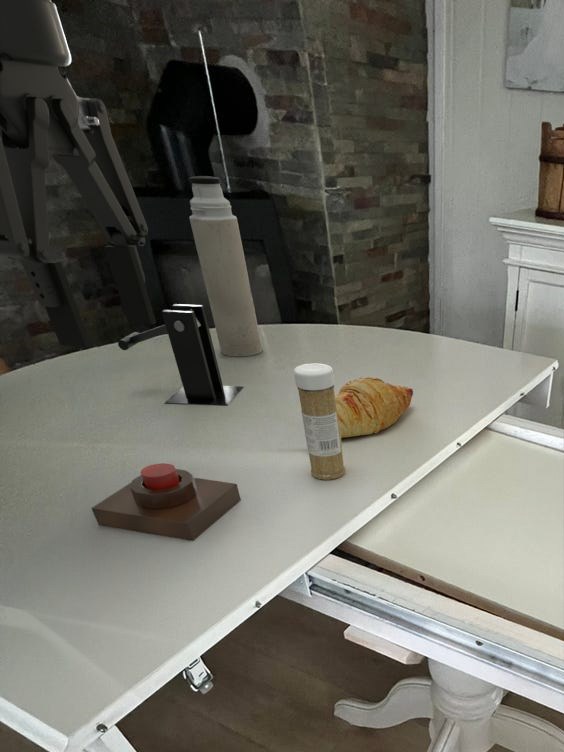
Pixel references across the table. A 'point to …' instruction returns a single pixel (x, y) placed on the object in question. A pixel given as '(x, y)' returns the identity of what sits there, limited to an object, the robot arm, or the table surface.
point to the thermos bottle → (224, 268)
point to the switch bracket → (196, 359)
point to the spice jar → (320, 419)
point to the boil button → (160, 476)
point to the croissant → (370, 406)
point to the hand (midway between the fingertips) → (111, 333)
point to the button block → (168, 507)
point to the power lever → (145, 335)
